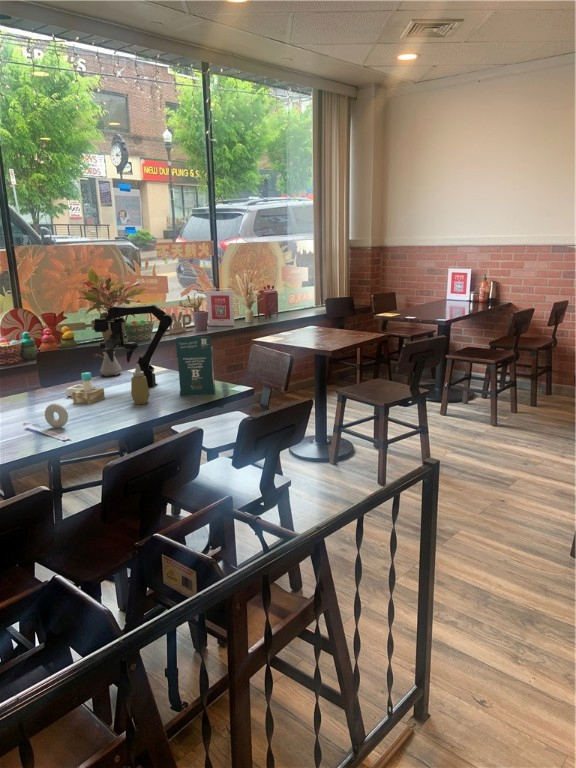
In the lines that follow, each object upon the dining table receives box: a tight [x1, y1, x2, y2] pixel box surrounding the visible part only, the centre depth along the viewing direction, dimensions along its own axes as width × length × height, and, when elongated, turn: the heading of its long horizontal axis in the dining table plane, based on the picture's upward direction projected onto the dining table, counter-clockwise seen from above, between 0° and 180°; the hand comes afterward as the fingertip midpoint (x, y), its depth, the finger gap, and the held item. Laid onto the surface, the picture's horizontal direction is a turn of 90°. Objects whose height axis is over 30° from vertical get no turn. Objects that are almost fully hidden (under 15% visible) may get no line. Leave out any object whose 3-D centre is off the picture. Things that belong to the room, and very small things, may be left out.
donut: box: [44, 403, 69, 429], centre depth 222 cm, size 10×4×10 cm, turn 74°
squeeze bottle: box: [130, 363, 150, 405], centre depth 253 cm, size 8×8×18 cm
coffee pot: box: [94, 351, 122, 377], centre depth 308 cm, size 21×12×15 cm, turn 170°
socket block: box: [72, 386, 106, 405], centre depth 261 cm, size 10×10×5 cm
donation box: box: [175, 335, 216, 397], centre depth 269 cm, size 16×16×28 cm
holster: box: [65, 384, 83, 398], centre depth 272 cm, size 8×8×4 cm
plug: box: [81, 371, 93, 392], centre depth 260 cm, size 4×4×13 cm
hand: (120, 362), depth 281 cm, fingers open, 9 cm apart
